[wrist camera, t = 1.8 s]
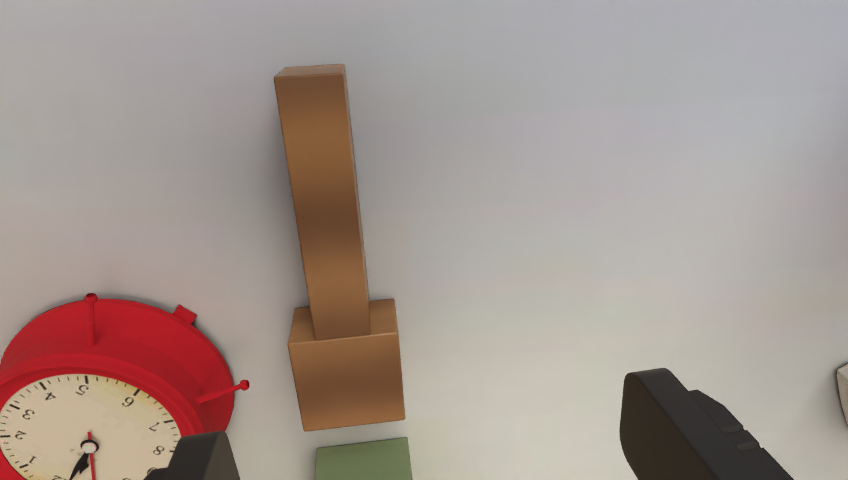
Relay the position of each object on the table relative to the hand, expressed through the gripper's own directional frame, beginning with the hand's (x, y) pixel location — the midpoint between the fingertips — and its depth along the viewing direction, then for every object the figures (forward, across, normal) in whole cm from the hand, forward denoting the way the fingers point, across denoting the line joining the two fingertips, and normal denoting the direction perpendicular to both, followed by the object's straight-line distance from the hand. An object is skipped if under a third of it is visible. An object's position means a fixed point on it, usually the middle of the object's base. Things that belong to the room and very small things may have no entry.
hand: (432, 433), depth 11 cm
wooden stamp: (+14, +3, +1) cm, 15 cm away
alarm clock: (+15, +15, +9) cm, 23 cm away
